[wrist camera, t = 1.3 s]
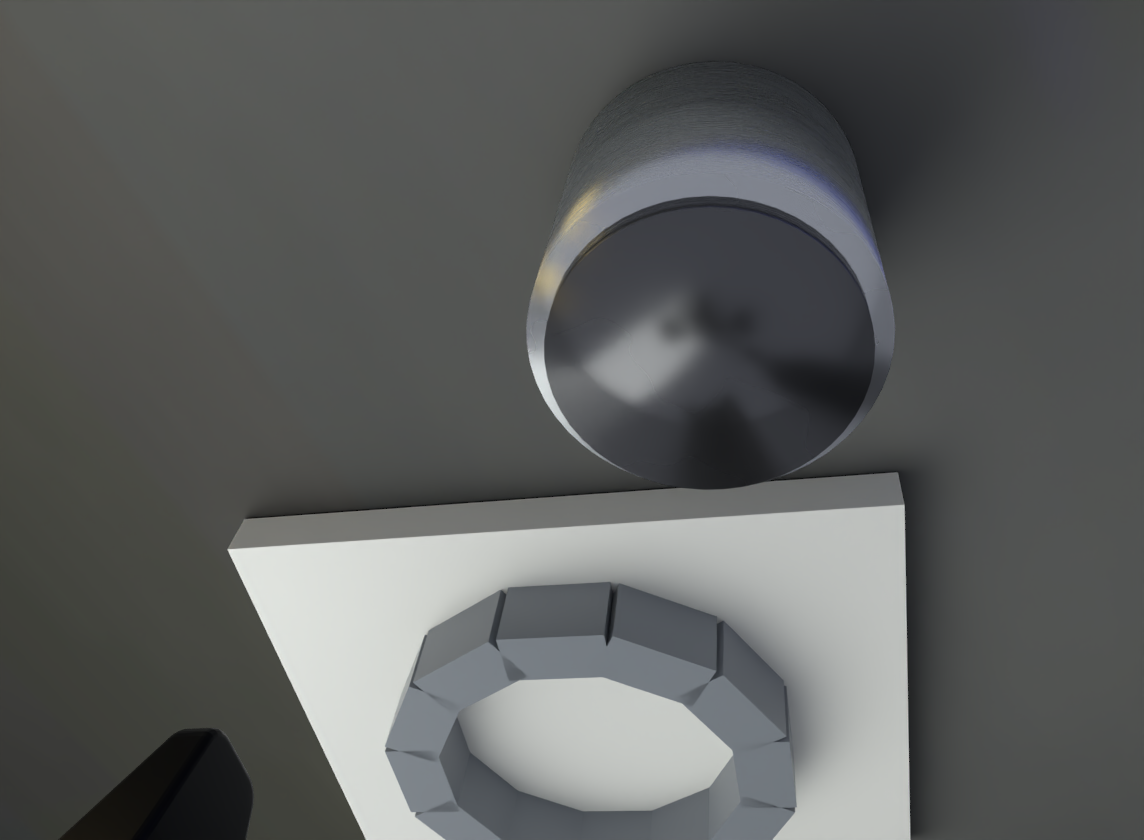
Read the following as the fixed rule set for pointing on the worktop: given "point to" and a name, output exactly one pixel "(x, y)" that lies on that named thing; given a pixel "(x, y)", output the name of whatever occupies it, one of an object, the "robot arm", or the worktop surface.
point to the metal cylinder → (711, 282)
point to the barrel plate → (603, 661)
